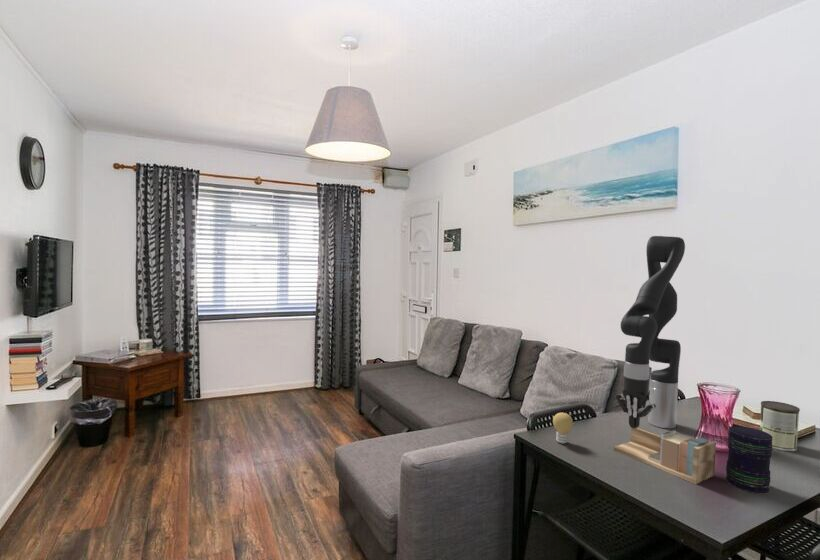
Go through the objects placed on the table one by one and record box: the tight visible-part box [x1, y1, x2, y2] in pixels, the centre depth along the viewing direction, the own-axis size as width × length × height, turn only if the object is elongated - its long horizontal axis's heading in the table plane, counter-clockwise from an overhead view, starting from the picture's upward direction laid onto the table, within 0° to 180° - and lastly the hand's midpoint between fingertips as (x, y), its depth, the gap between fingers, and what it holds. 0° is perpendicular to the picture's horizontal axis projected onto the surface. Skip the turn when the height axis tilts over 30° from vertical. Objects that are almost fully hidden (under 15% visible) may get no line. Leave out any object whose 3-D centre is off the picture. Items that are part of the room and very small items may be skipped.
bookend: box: [648, 429, 677, 463], centre depth 133 cm, size 7×4×9 cm, turn 121°
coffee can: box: [759, 400, 801, 452], centre depth 150 cm, size 10×10×14 cm
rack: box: [613, 427, 717, 485], centre depth 133 cm, size 10×25×10 cm, turn 31°
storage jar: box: [725, 425, 773, 495], centre depth 120 cm, size 10×10×15 cm
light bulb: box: [552, 412, 574, 444], centre depth 146 cm, size 6×6×10 cm
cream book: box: [661, 434, 689, 471], centre depth 129 cm, size 7×4×8 cm, turn 121°
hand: (633, 427), depth 142 cm, fingers closed
